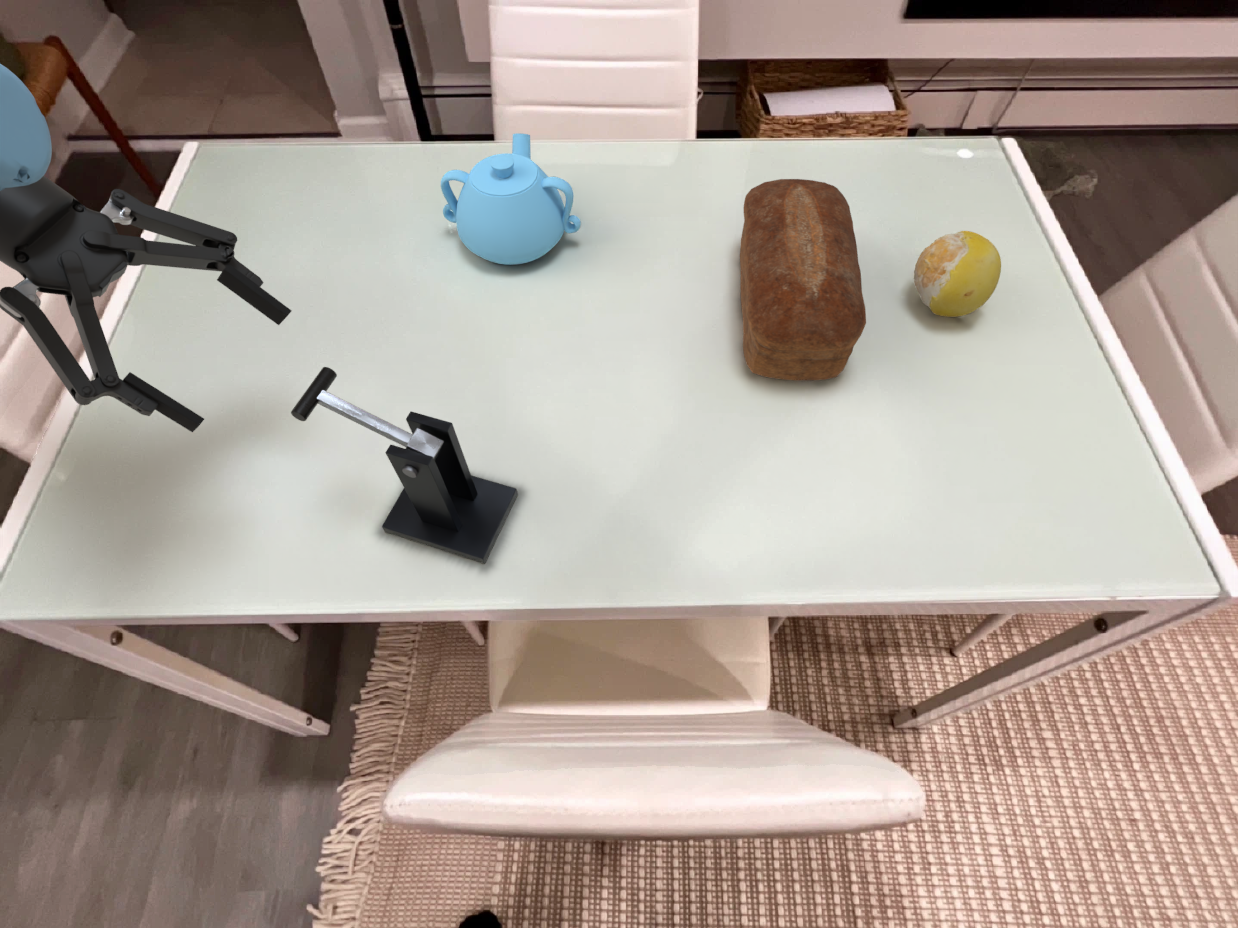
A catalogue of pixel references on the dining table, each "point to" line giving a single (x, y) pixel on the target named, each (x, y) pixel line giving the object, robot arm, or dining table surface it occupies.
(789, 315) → the bread
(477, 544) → the bracket
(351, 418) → the lever
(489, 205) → the teapot
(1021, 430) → the dining table surface
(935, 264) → the fruit
